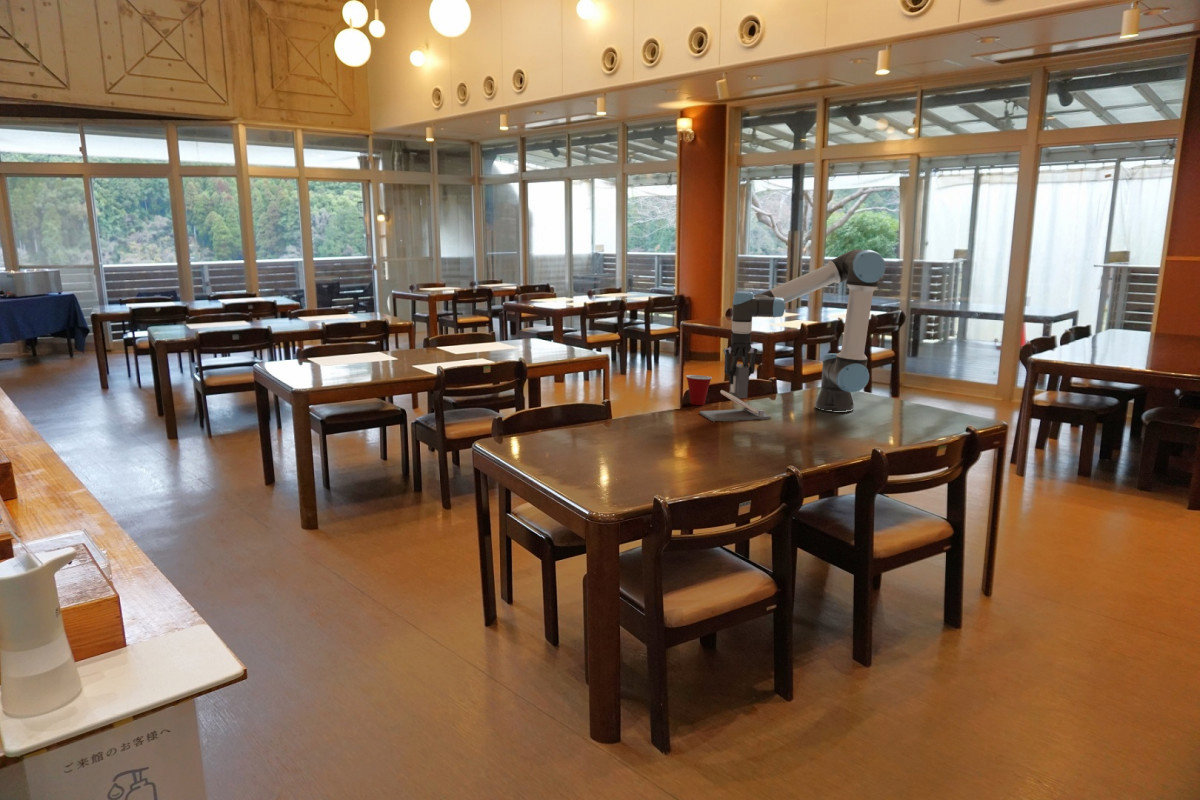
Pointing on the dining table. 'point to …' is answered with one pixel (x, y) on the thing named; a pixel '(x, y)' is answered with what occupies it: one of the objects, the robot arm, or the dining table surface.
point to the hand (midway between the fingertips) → (738, 391)
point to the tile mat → (733, 415)
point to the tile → (739, 402)
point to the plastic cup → (698, 388)
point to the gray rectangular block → (741, 381)
